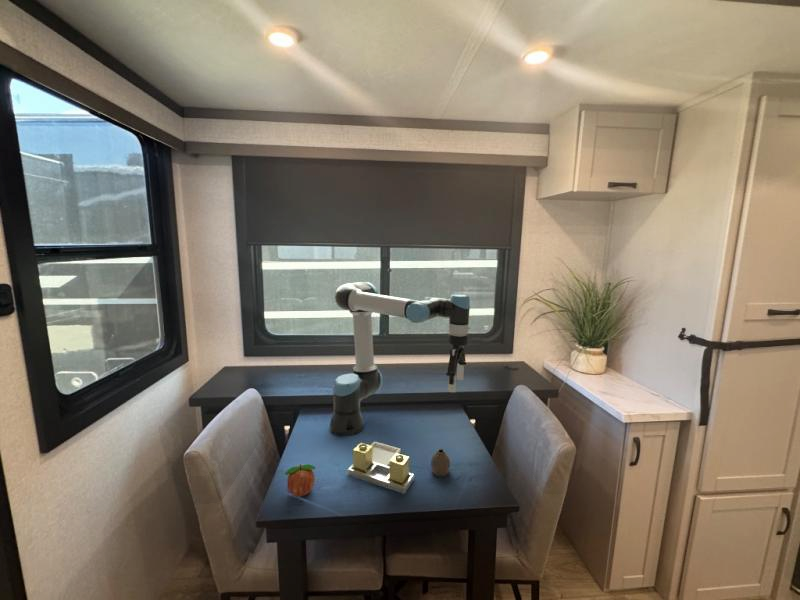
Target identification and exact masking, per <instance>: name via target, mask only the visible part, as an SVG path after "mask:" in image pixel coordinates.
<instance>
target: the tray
mask: <svg viewBox="0 0 800 600" xmlns="http://www.w3.org/2000/svg"><path fill="white" fill-rule="evenodd" d="M369 445H370V446H373V456H372V461H373V462H376V463H380V464H383V465H386V466H389V467H390V460H391V459H392V457H393V456H394V455H395V454H396V453H398V454H401V453H402V449H401V448H399V447H397V446H396V447H395V446H392V445H389V444H386V443H382V442H377V441H373V442H371V444H369Z"/></svg>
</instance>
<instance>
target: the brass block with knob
mask: <svg viewBox="0 0 800 600" xmlns="http://www.w3.org/2000/svg"><path fill="white" fill-rule="evenodd" d="M370 445H371V444H367V443H364V442H363V443H362V442H360V443H359V444H357V445H356V447H354V448H353V452H352V465H353V469H354V470H357V471H360V472H363V473H367V472H368V471H369V470H370V468H371V467H372V456H373V446H370Z"/></svg>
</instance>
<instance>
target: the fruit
mask: <svg viewBox="0 0 800 600" xmlns="http://www.w3.org/2000/svg"><path fill="white" fill-rule="evenodd" d="M315 469H316V466H315V465H313V464H304V465H303V464H299V465H297V466H292V467H290V468H289V469H288V470H286V471H285V473H284V474H285V476H287V480H286V481H287V482H286V483H287V484H286V486H287V489H288V491H289V493H290V494H291V495H292V496H294V497H297V498H300V497H304V496H306V495H308V494H309V493H310V492H311V491H312V489H313V488H314V485H315V477H316V476H315V473H314V472H313V470H315Z"/></svg>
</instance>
